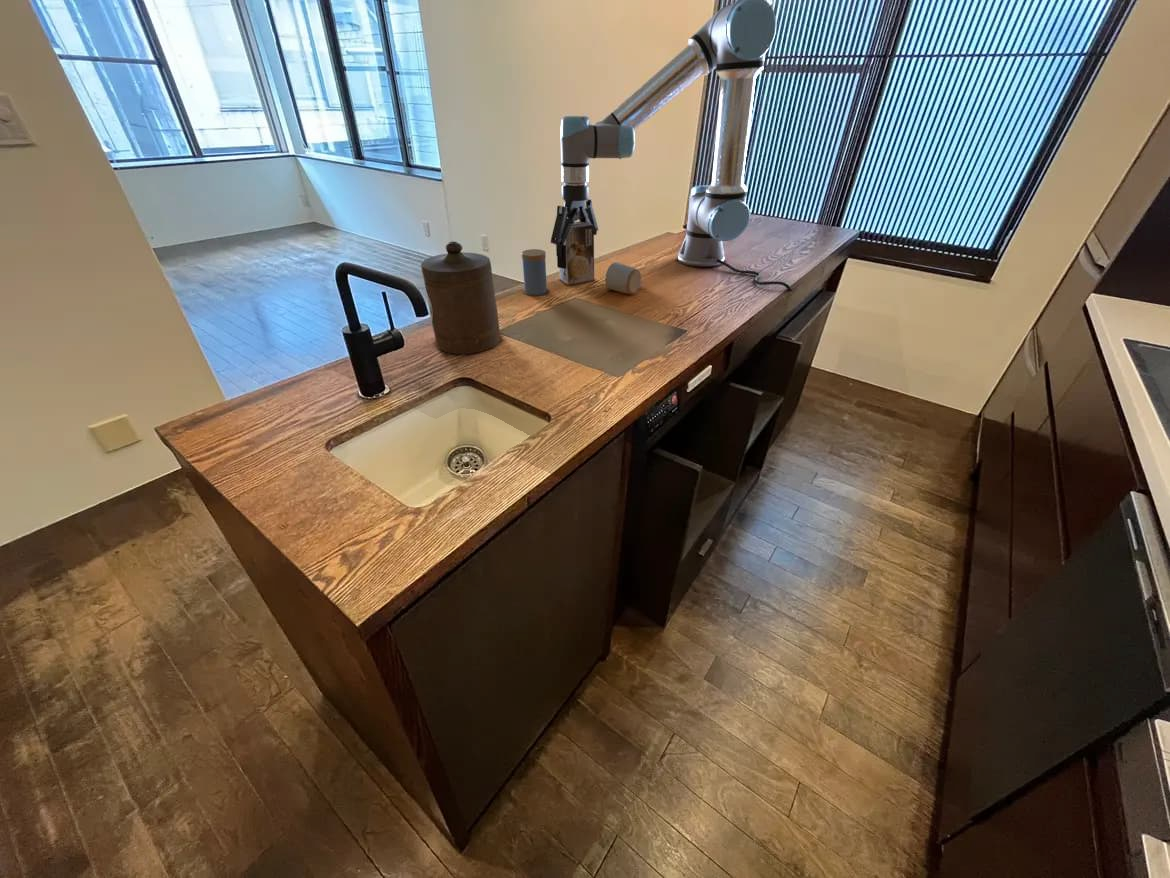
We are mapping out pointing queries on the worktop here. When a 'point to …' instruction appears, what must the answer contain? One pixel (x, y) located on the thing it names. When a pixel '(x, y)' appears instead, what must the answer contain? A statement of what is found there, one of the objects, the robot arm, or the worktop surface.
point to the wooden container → (461, 300)
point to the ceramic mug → (623, 278)
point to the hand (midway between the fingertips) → (575, 262)
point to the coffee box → (579, 254)
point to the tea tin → (534, 271)
